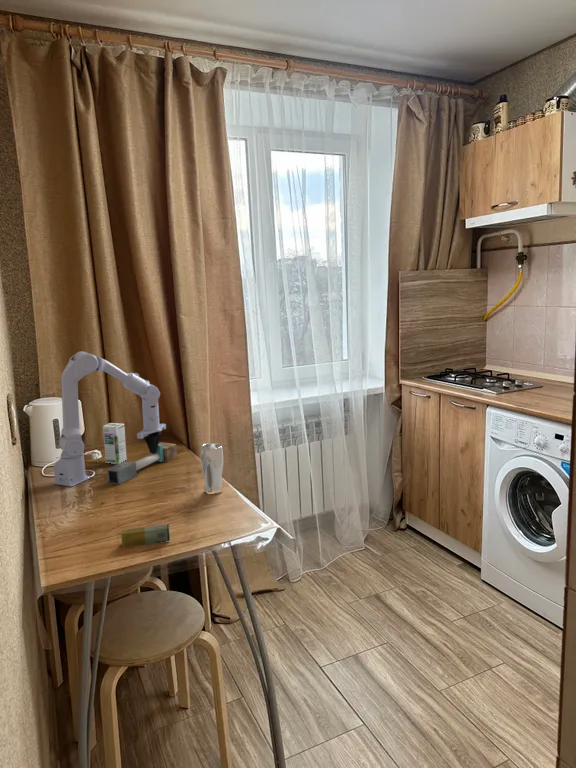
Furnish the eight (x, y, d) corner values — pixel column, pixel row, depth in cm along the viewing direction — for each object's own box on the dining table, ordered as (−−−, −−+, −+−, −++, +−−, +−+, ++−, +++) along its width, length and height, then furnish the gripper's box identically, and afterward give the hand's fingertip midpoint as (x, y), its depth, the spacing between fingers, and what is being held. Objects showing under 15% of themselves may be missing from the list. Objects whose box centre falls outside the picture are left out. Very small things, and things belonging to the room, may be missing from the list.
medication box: (170, 538, 144) (169, 523, 143) (170, 542, 141) (169, 527, 140) (122, 544, 141) (121, 529, 140) (121, 548, 138) (120, 533, 138)
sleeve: (119, 484, 182) (118, 470, 182) (108, 482, 184) (106, 469, 183) (136, 475, 190) (135, 462, 190) (125, 474, 192) (124, 461, 192)
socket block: (167, 461, 205) (166, 448, 204) (152, 459, 208) (151, 446, 207) (176, 457, 210) (176, 444, 209) (161, 455, 213) (160, 442, 212)
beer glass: (198, 494, 173) (196, 448, 170) (208, 486, 179) (206, 442, 177) (219, 496, 171) (217, 449, 168) (228, 488, 177) (226, 443, 175)
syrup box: (105, 463, 204) (102, 425, 202) (114, 458, 210) (111, 422, 207) (118, 464, 203) (115, 426, 200) (127, 460, 208) (124, 422, 206)
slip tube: (135, 474, 190) (134, 457, 189) (126, 473, 192) (125, 456, 191) (168, 458, 208) (167, 442, 207) (160, 457, 210) (159, 441, 209)
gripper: (147, 422, 192) (150, 459, 194) (171, 413, 205) (173, 448, 207) (131, 420, 195) (133, 457, 197) (156, 411, 208) (158, 446, 210)
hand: (153, 452), depth 202 cm, fingers closed
